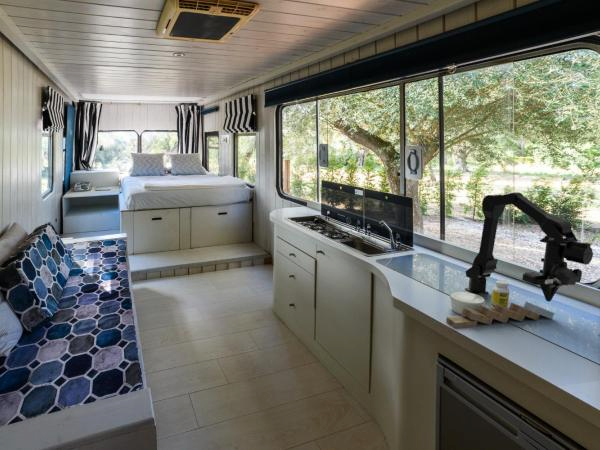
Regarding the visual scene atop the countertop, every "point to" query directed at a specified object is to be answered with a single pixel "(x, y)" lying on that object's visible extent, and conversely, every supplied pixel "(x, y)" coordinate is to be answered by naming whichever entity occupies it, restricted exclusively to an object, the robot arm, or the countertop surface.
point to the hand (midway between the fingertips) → (548, 301)
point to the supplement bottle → (500, 294)
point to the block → (539, 310)
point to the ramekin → (465, 301)
